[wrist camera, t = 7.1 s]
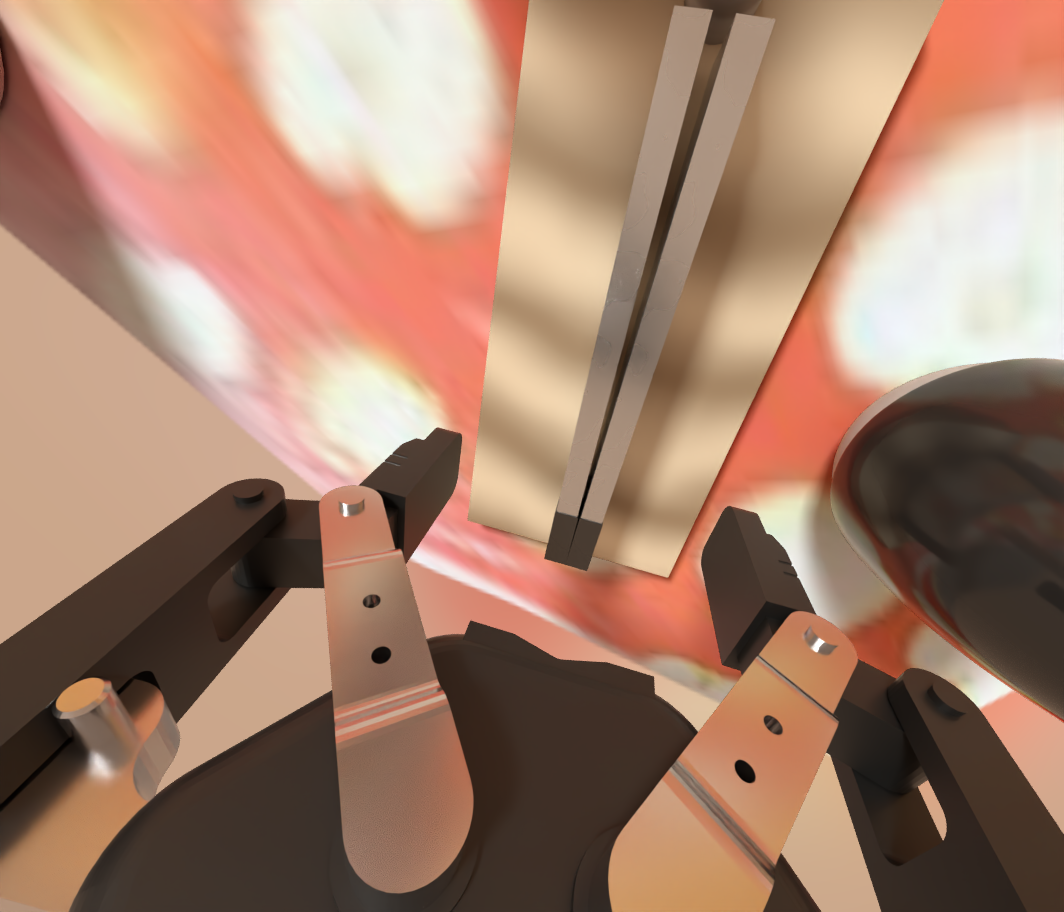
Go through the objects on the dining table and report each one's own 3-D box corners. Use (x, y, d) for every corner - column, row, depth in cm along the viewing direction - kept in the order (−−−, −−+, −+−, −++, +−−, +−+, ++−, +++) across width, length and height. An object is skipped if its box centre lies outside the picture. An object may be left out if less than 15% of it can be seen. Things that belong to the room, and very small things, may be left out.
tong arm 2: (711, 64, 14) (734, 11, 11) (743, 69, 14) (778, 18, 11) (575, 515, 24) (565, 564, 21) (594, 521, 24) (586, 571, 21)
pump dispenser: (1128, 429, 18) (2348, 935, 5) (890, 557, 23) (1205, 968, 10) (972, 278, 17) (2064, 449, 4) (758, 448, 22) (927, 762, 9)
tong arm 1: (664, 58, 14) (672, 4, 11) (696, 62, 14) (715, 9, 11) (557, 511, 25) (544, 558, 21) (576, 516, 24) (565, 564, 21)
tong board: (547, -57, 15) (501, -198, 10) (928, -7, 14) (1096, -141, 9) (475, 507, 28) (439, 567, 23) (666, 561, 27) (672, 638, 22)
